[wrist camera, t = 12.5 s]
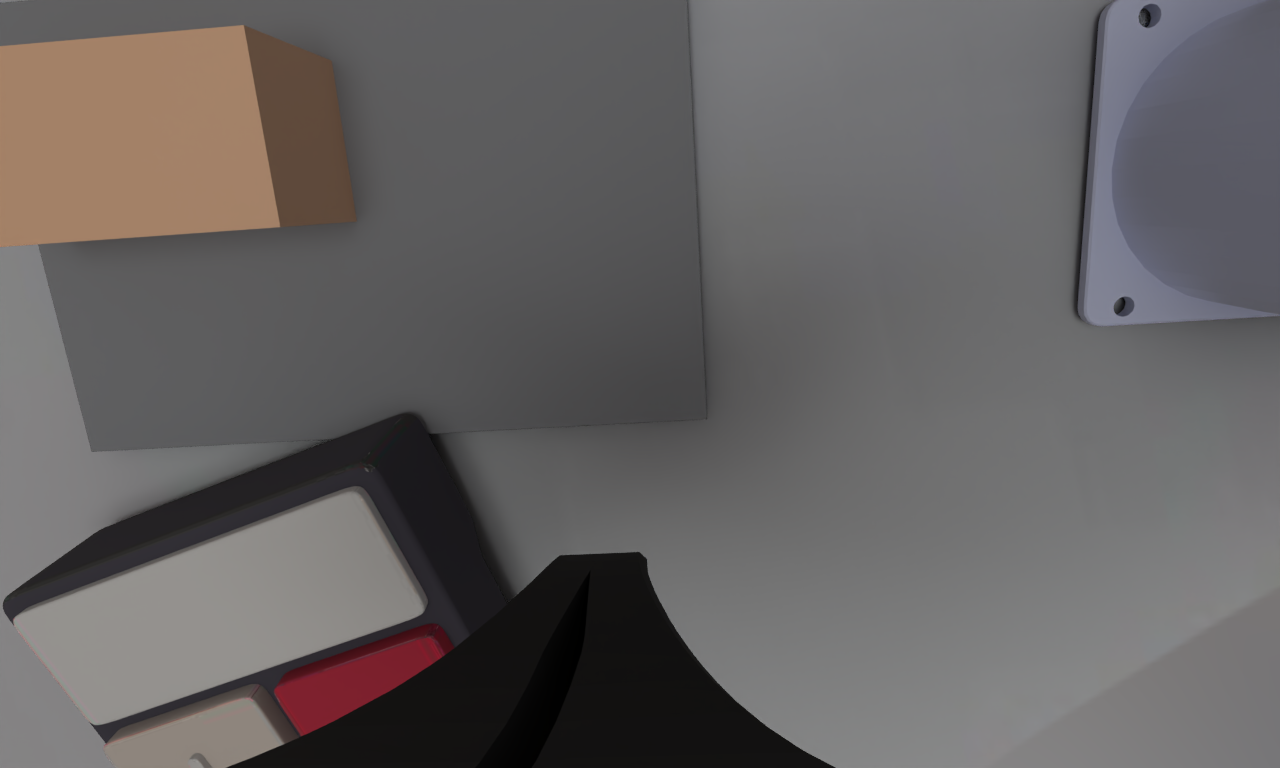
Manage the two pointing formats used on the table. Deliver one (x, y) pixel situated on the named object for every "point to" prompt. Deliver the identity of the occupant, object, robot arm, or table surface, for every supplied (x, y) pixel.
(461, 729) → the robot arm
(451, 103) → the mat
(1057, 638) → the table surface
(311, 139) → the block
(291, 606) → the calculator
